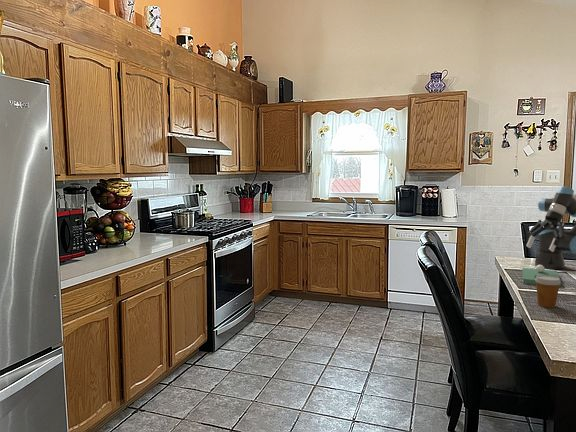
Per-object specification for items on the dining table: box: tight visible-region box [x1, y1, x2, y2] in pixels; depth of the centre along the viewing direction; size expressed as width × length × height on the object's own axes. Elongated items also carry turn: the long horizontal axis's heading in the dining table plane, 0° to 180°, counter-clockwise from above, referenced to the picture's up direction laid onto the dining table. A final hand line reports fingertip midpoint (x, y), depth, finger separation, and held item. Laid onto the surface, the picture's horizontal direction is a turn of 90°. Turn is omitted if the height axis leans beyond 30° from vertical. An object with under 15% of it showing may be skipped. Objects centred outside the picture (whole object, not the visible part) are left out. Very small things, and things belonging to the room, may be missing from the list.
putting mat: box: [521, 267, 562, 288], centre depth 226 cm, size 26×16×2 cm, turn 153°
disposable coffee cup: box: [535, 275, 562, 308], centre depth 184 cm, size 10×10×12 cm
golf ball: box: [535, 265, 546, 272], centre depth 231 cm, size 4×4×4 cm
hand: (539, 248), depth 230 cm, fingers open, 13 cm apart
